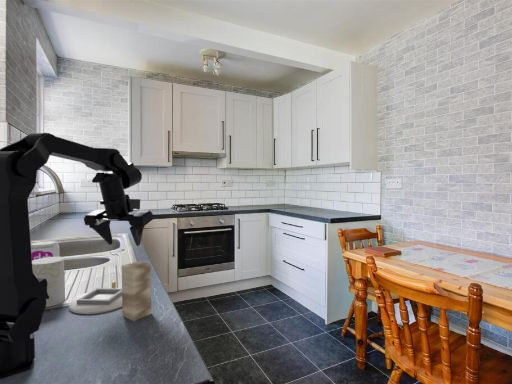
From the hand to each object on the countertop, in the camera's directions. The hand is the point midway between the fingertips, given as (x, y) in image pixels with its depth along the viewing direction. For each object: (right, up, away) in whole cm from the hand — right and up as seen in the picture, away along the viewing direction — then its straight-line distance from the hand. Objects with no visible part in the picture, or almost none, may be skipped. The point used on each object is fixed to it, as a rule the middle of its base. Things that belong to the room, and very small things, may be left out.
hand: (124, 244), depth 85 cm
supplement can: (-29, -16, +8) cm, 34 cm away
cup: (-21, -16, -2) cm, 27 cm away
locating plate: (-6, -16, -2) cm, 17 cm away
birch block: (+8, -16, -10) cm, 21 cm away
